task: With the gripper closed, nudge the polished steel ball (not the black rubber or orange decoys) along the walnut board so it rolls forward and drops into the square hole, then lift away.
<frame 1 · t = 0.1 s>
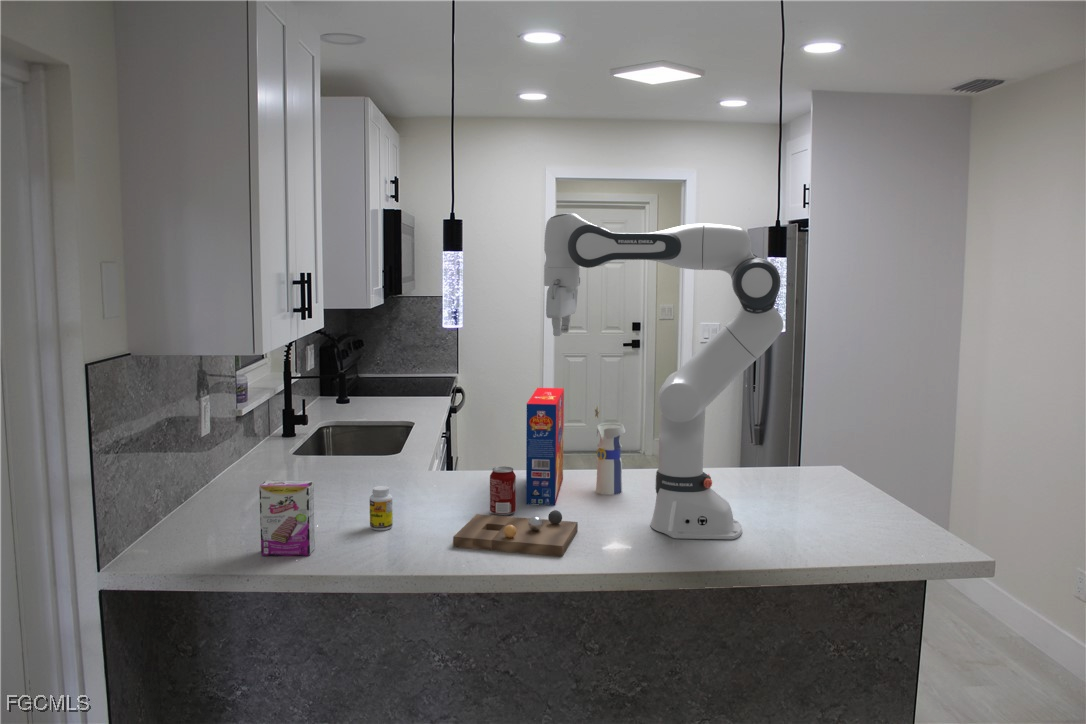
hand: (561, 334, 216), 48 cm above the worktop, tool pointing down, fingers open, 8 cm apart
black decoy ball: (555, 517, 209), point 4 cm above the worktop, touching board
water bottle: (609, 492, 247), on the worktop
soda can: (502, 514, 225), on the worktop
board: (517, 539, 205), on the worktop
pasta box: (545, 491, 247), on the worktop
steel ball: (535, 523, 204), point 4 cm above the worktop, touching board
candy bar box: (288, 553, 195), on the worktop
supplement bottle: (381, 528, 213), on the worktop
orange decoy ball: (510, 531, 198), point 4 cm above the worktop, touching board
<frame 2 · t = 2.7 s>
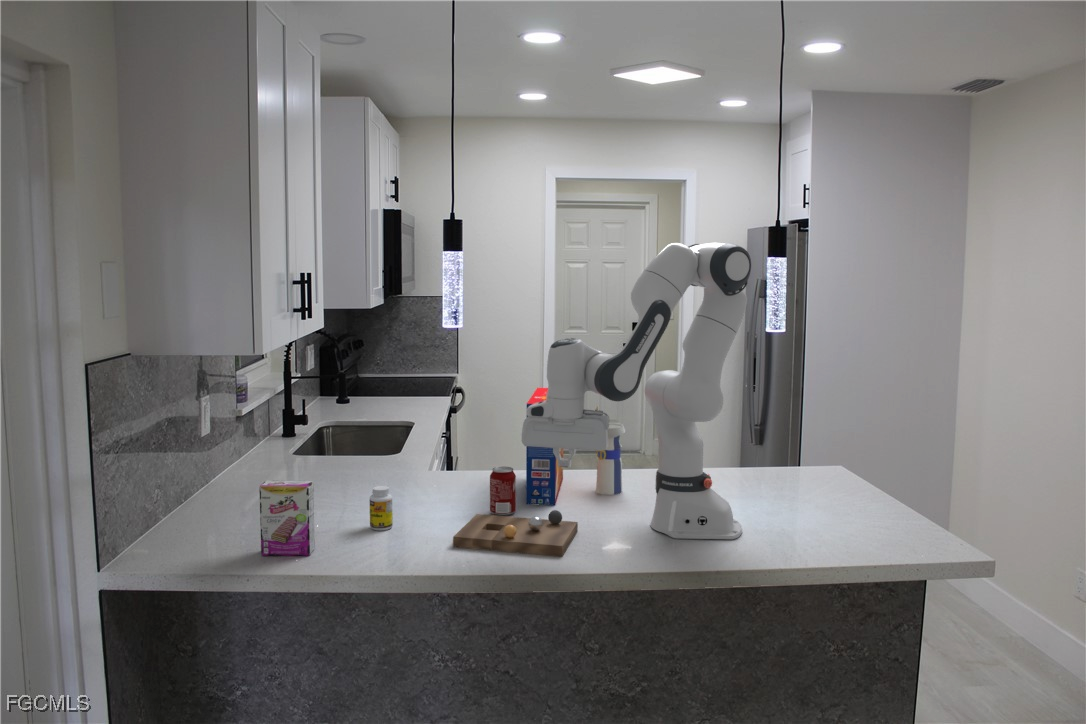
hand: (564, 466, 200), 19 cm above the worktop, tool pointing down, fingers closed
nothing on the worktop moved.
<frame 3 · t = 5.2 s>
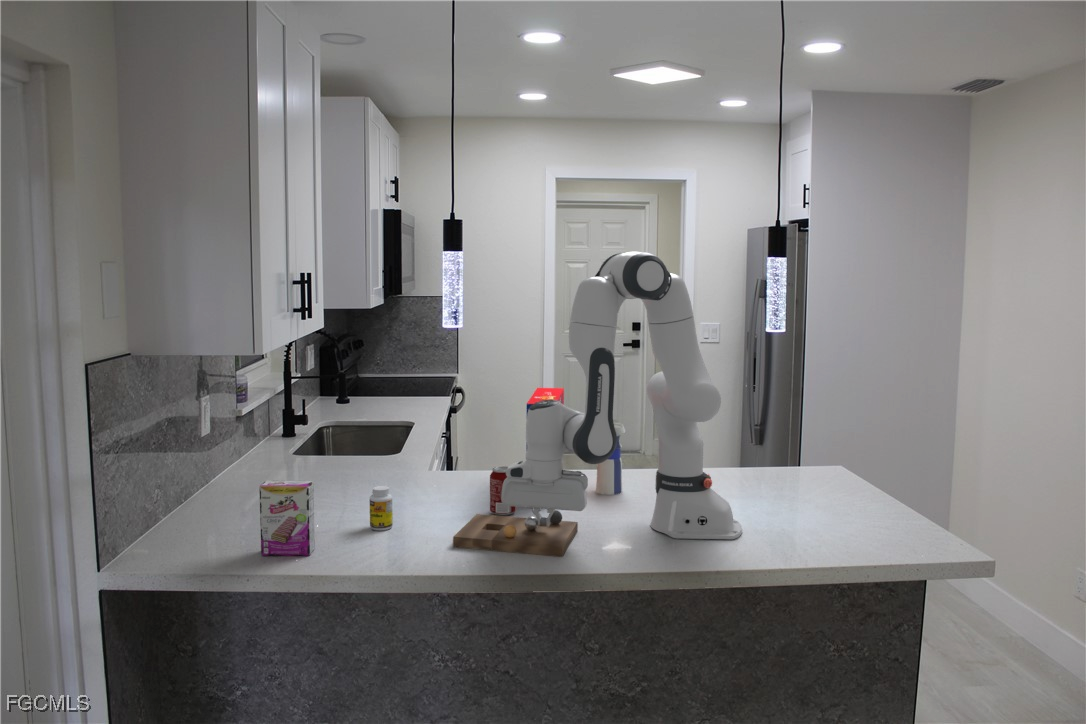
hand: (543, 525, 203), 4 cm above the worktop, tool pointing down, fingers closed
steel ball: (531, 523, 204), point 4 cm above the worktop, tilted 32°, touching board, gripper
everything else where it was.
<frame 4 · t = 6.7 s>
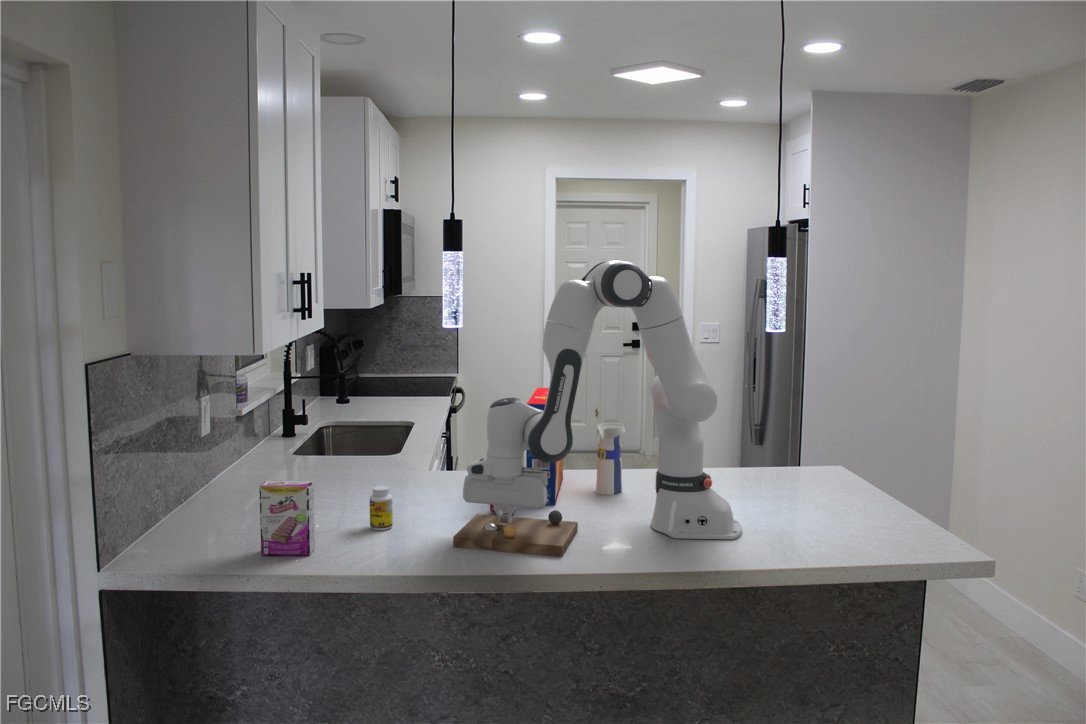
hand: (504, 522, 205), 4 cm above the worktop, tool pointing down, fingers closed
steel ball: (490, 530, 206), point 2 cm above the worktop, tilted 55°
everything else where it was.
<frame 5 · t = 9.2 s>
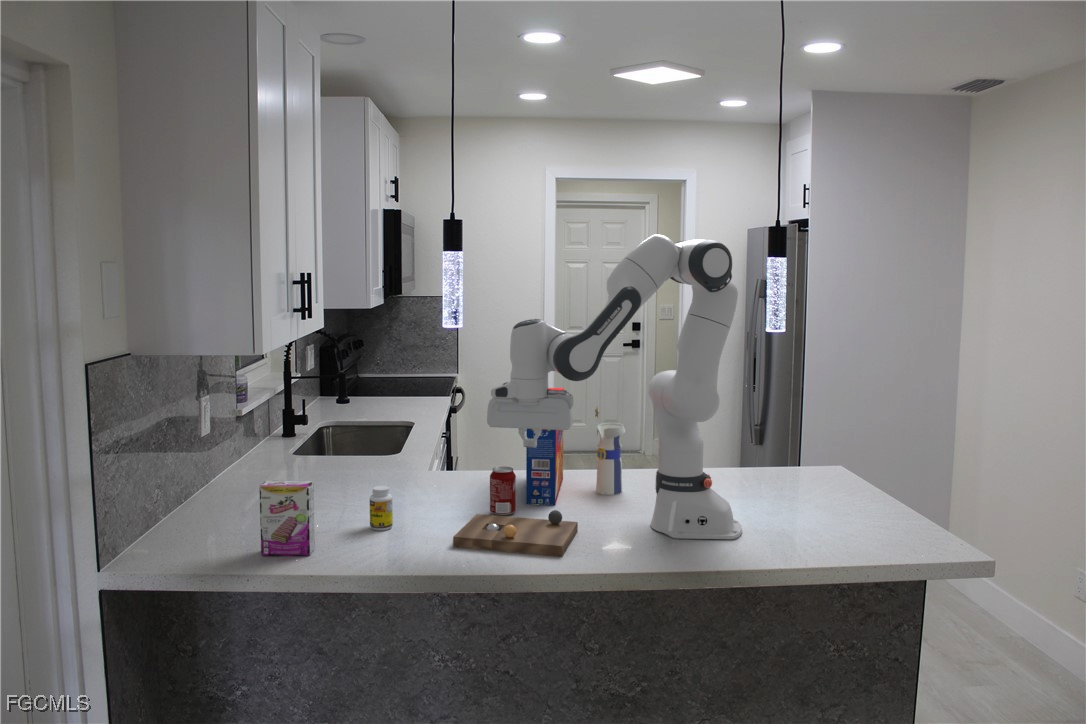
hand: (530, 446, 202), 23 cm above the worktop, tool pointing down, fingers closed
steel ball: (492, 530, 206), point 2 cm above the worktop, tilted 37°
everything else where it was.
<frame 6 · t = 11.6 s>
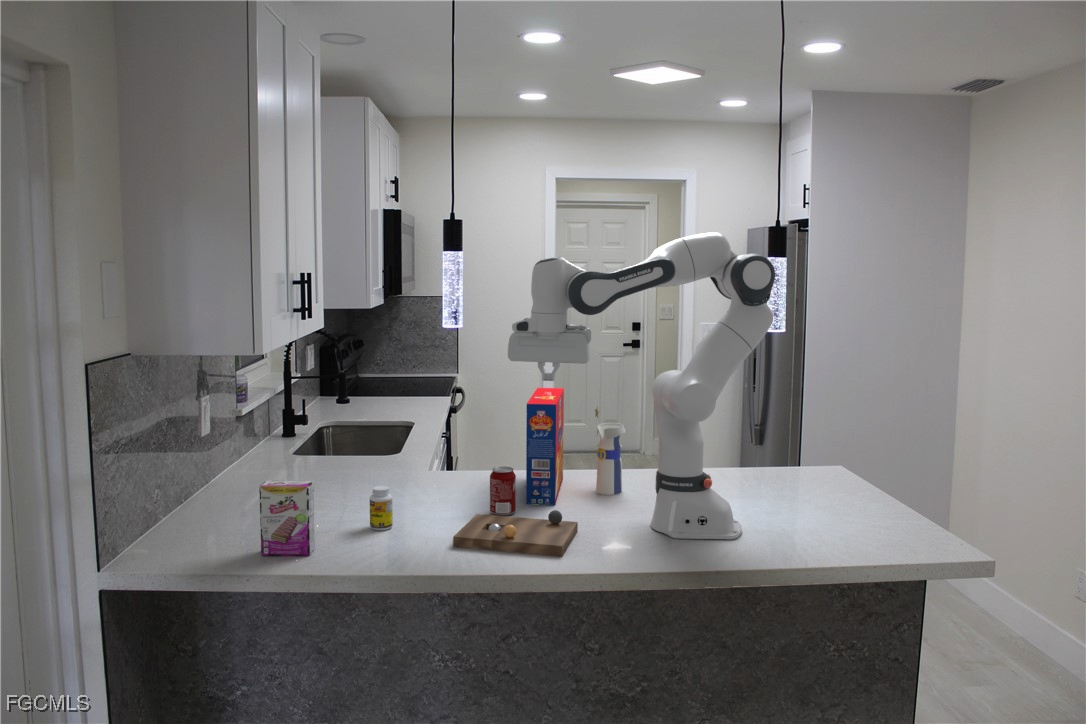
hand: (548, 380, 210), 37 cm above the worktop, tool pointing down, fingers closed
steel ball: (494, 530, 206), point 2 cm above the worktop, tilted 20°
everything else where it was.
at the end: steel ball 0.5 cm from the target spot on the board, point 1.7 cm above the board's base; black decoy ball moved 0.0 cm from its start; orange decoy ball moved 0.0 cm from its start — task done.
